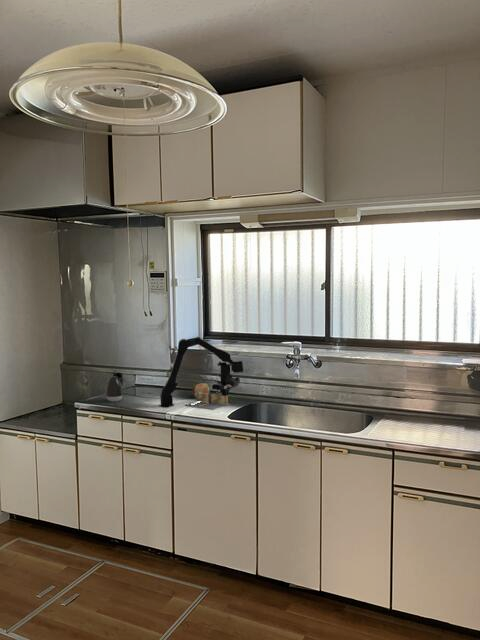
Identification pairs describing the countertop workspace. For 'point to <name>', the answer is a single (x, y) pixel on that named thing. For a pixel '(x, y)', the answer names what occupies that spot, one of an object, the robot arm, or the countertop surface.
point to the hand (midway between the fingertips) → (225, 399)
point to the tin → (200, 389)
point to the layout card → (208, 405)
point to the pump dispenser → (114, 389)
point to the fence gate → (219, 399)
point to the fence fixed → (204, 397)
